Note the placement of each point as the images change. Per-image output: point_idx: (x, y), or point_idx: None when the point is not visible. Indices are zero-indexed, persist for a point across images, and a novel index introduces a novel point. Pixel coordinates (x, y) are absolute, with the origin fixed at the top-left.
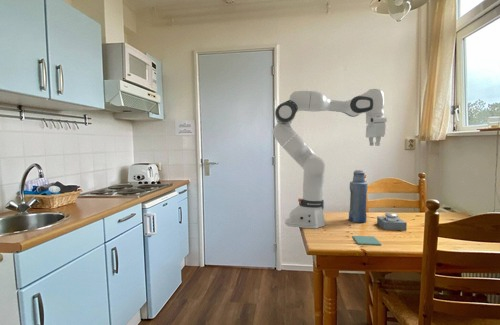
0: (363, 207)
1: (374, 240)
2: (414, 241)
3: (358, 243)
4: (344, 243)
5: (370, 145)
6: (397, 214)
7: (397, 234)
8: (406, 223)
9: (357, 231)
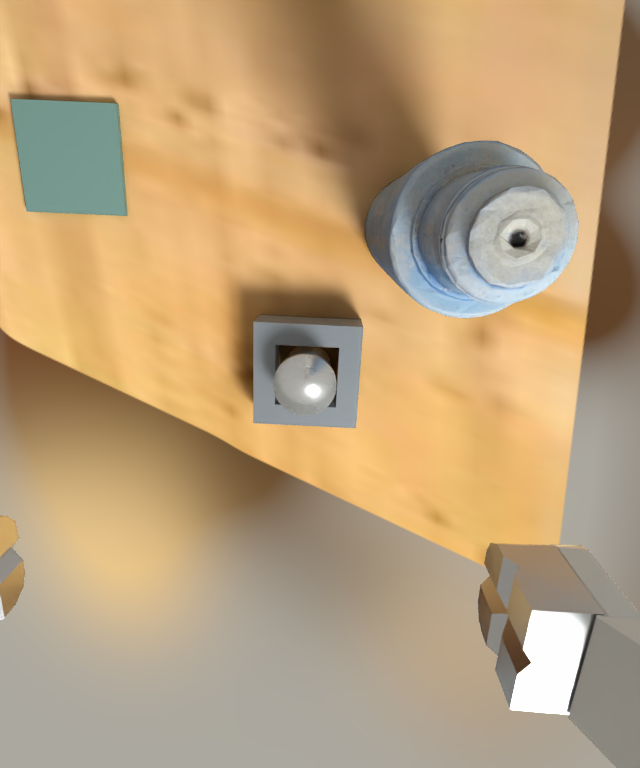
0: (374, 251)
1: (66, 196)
2: (111, 372)
3: (11, 101)
4: (12, 29)
5: (510, 544)
6: (299, 413)
7: (192, 344)
8: (253, 420)
9: (212, 162)
